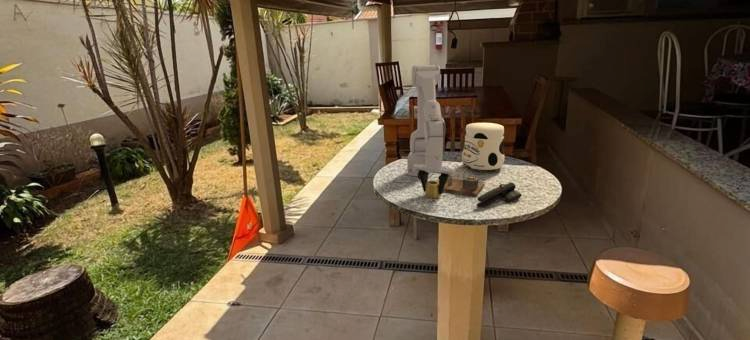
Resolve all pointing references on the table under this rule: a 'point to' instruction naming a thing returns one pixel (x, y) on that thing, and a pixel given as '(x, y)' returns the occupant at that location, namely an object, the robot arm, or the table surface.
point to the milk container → (483, 147)
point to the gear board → (463, 186)
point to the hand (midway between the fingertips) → (433, 192)
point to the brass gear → (432, 189)
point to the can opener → (499, 195)
